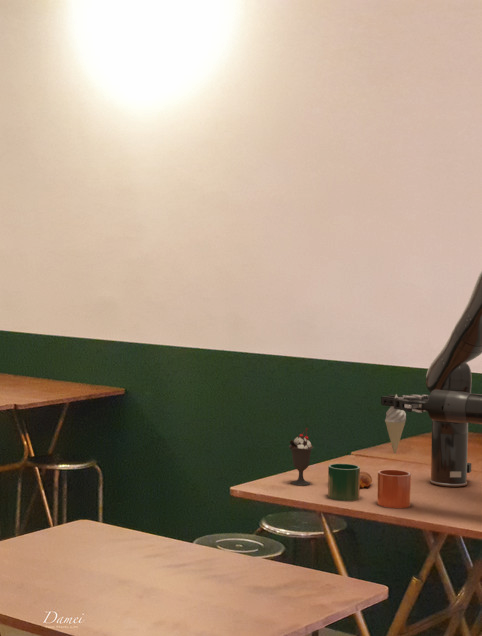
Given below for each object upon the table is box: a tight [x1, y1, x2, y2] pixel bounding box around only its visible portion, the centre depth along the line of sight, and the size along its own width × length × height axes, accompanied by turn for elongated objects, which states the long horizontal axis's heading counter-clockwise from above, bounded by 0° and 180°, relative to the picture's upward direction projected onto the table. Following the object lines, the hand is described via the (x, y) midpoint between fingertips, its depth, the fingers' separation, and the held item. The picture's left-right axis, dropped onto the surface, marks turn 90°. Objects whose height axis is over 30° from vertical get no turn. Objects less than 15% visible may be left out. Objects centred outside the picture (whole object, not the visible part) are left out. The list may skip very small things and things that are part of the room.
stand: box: [327, 463, 361, 502], centre depth 280 cm, size 8×8×8 cm
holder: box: [376, 469, 412, 509], centre depth 272 cm, size 8×8×8 cm
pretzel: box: [360, 471, 373, 488], centre depth 294 cm, size 12×11×4 cm
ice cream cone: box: [384, 393, 407, 454], centre depth 271 cm, size 5×5×15 cm
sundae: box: [288, 427, 315, 486], centre depth 296 cm, size 7×7×15 cm
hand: (384, 399), depth 273 cm, fingers closed on ice cream cone, 2 cm apart
